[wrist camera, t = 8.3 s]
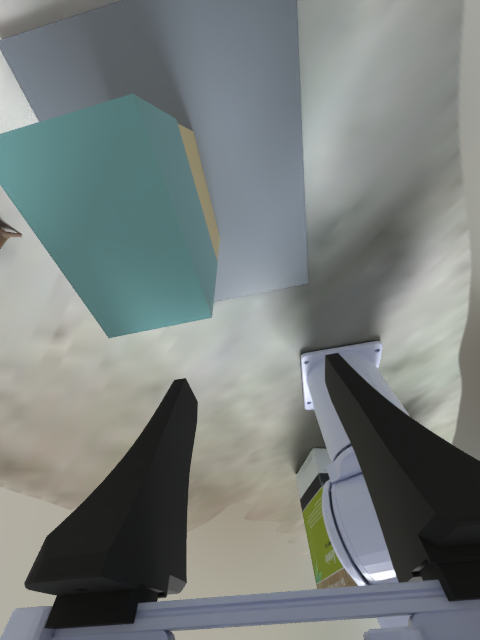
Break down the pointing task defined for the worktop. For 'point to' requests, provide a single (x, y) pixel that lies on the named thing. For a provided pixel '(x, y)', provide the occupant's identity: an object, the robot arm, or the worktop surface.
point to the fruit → (7, 236)
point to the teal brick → (116, 212)
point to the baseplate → (197, 110)
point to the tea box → (319, 522)
